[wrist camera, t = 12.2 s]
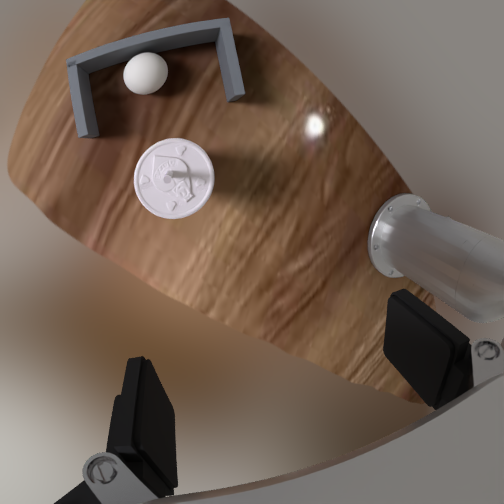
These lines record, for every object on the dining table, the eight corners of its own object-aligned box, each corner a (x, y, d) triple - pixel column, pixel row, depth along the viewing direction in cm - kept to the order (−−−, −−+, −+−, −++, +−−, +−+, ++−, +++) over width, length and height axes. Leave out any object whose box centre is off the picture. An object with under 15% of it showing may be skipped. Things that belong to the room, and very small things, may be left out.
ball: (168, 77, 23) (175, 89, 28) (157, 39, 22) (165, 54, 26) (123, 96, 23) (136, 104, 28) (113, 57, 22) (126, 70, 26)
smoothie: (181, 128, 30) (182, 115, 17) (216, 174, 32) (243, 193, 20) (134, 166, 30) (103, 181, 17) (171, 211, 33) (167, 254, 20)
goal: (222, 32, 27) (228, 17, 23) (236, 100, 30) (245, 93, 26) (79, 69, 24) (66, 59, 20) (91, 138, 28) (78, 137, 24)
